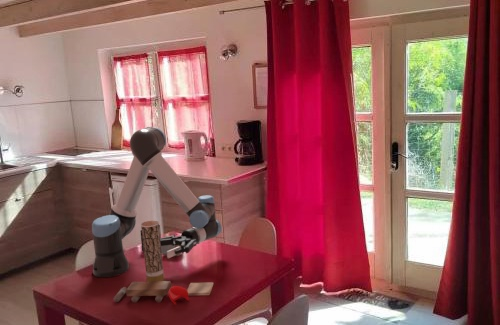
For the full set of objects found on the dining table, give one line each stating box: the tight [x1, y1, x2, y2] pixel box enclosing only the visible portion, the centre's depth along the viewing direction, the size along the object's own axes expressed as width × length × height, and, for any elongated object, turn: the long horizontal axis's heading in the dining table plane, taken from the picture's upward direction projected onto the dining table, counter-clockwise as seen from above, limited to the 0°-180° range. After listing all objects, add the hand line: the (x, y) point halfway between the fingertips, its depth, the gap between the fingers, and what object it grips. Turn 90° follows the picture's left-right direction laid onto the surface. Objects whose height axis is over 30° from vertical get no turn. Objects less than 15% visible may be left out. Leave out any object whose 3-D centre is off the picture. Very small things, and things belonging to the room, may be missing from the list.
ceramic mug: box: [161, 241, 182, 257], centre depth 221 cm, size 11×8×8 cm
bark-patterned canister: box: [140, 220, 165, 282], centre depth 187 cm, size 7×7×25 cm
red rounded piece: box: [167, 285, 190, 306], centre depth 171 cm, size 8×6×6 cm
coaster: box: [186, 281, 214, 297], centre depth 180 cm, size 9×9×1 cm
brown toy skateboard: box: [113, 280, 172, 303], centre depth 177 cm, size 20×8×5 cm, turn 85°
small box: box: [139, 224, 162, 252], centre depth 231 cm, size 11×6×10 cm, turn 168°
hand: (155, 251), depth 188 cm, fingers open, 13 cm apart
